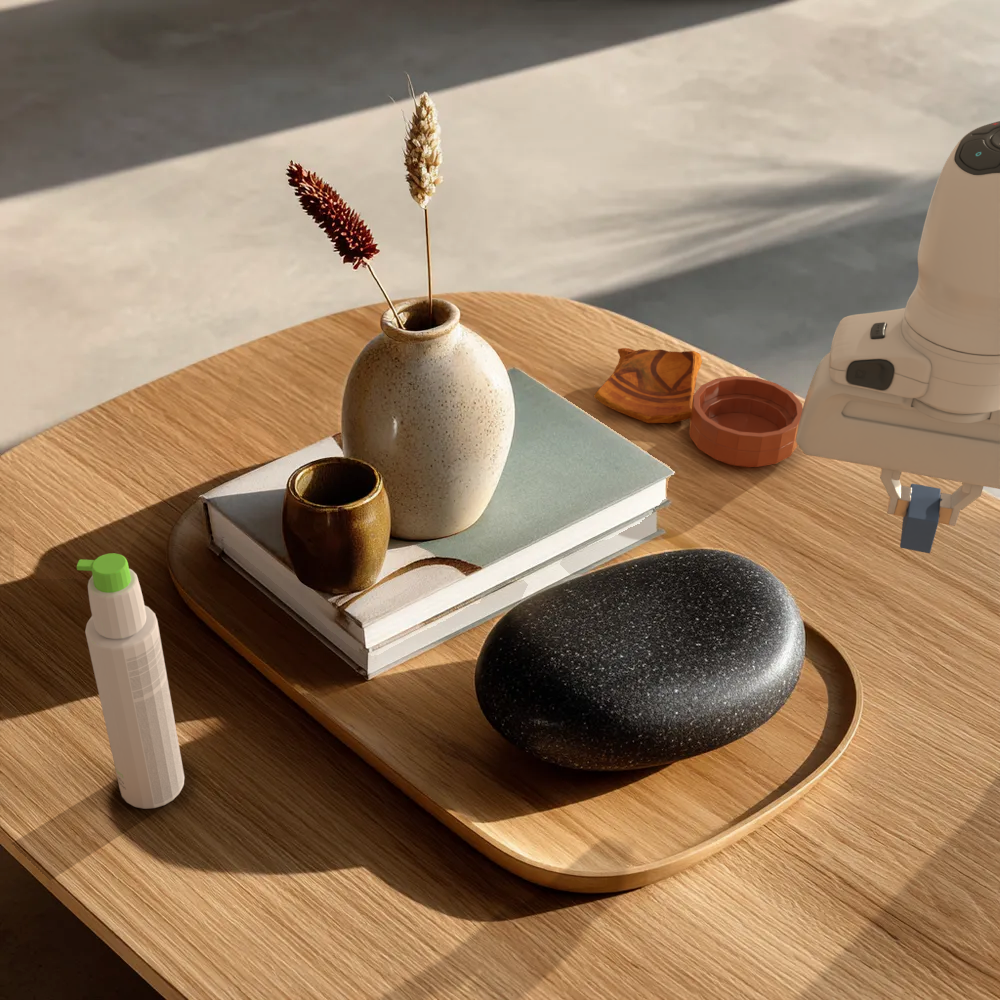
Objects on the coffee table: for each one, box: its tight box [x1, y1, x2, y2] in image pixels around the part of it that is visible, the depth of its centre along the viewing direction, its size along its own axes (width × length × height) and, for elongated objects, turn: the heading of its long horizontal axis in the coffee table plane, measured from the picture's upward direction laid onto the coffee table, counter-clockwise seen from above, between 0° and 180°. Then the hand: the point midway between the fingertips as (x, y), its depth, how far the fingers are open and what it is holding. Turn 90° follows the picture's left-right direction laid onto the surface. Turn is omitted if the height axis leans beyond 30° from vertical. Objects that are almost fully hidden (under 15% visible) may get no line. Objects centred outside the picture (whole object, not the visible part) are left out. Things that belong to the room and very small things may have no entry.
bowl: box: [688, 375, 803, 468], centre depth 126 cm, size 10×10×4 cm
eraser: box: [899, 483, 942, 554], centre depth 101 cm, size 4×2×3 cm, turn 163°
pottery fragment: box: [593, 347, 703, 424], centre depth 132 cm, size 10×5×10 cm
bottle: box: [76, 552, 185, 810], centre depth 86 cm, size 4×4×20 cm
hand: (920, 515), depth 101 cm, fingers closed on eraser, 2 cm apart
